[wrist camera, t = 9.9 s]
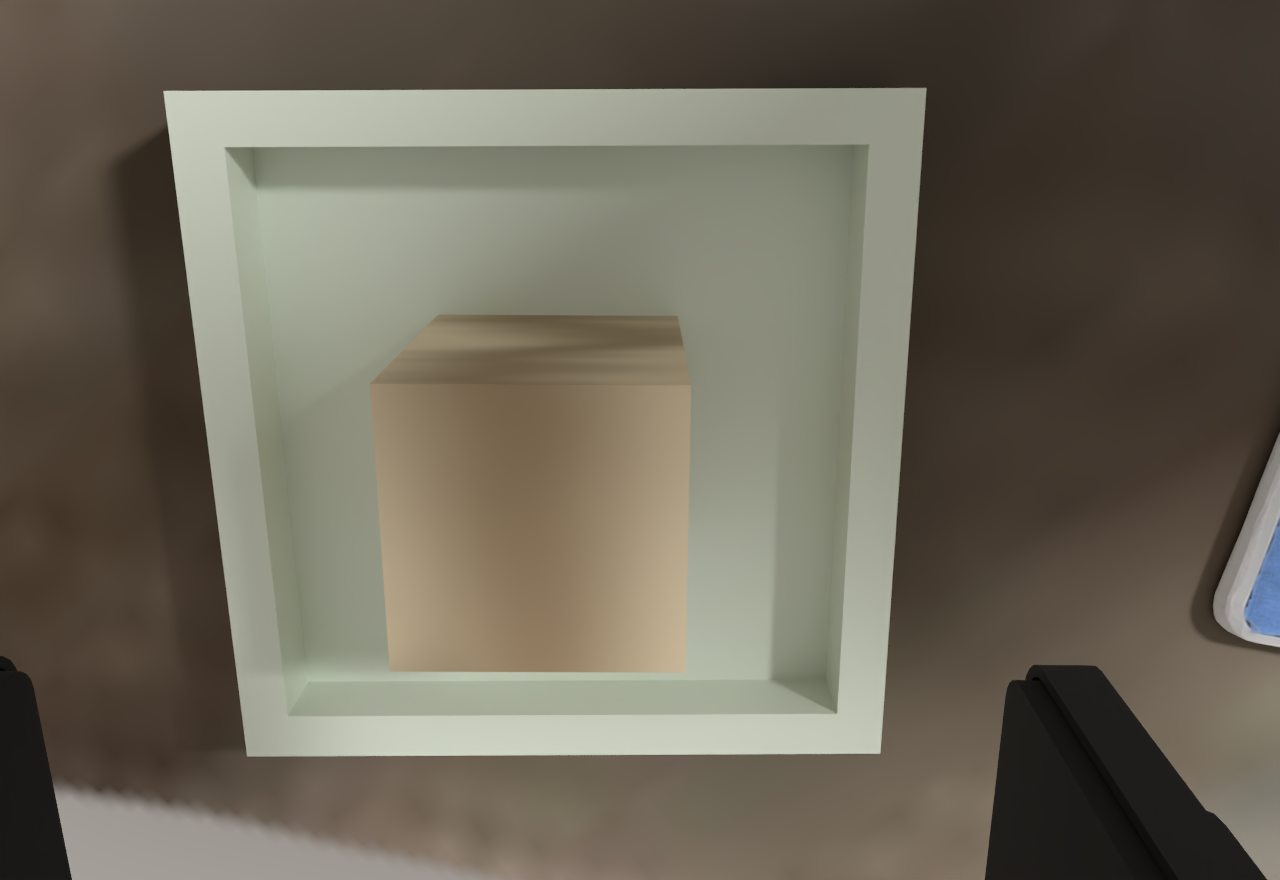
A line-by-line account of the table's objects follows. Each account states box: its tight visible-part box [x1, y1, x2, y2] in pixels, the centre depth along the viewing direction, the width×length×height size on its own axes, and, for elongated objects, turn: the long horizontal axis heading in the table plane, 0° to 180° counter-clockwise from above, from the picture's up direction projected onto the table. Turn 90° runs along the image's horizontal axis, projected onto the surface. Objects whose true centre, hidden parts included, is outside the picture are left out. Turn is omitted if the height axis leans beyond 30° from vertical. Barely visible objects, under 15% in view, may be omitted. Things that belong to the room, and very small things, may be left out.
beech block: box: [370, 315, 691, 673], centre depth 20 cm, size 5×5×6 cm
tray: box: [164, 88, 927, 756], centre depth 23 cm, size 14×14×2 cm
